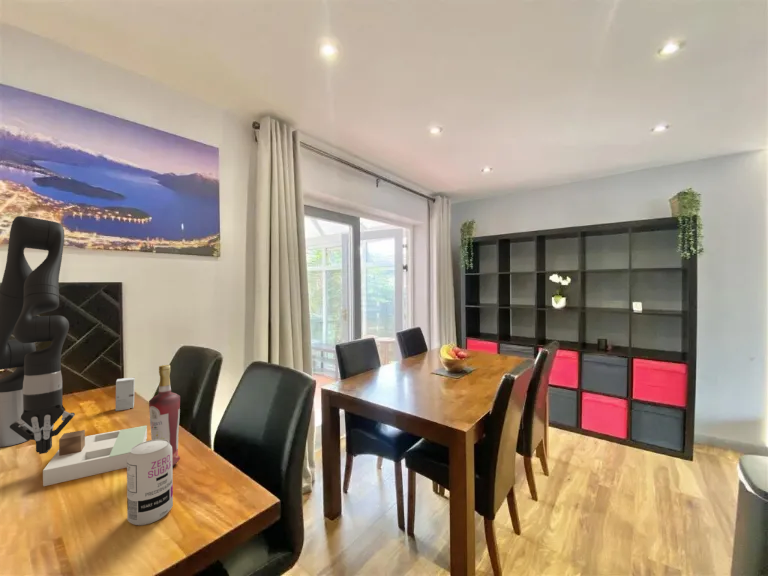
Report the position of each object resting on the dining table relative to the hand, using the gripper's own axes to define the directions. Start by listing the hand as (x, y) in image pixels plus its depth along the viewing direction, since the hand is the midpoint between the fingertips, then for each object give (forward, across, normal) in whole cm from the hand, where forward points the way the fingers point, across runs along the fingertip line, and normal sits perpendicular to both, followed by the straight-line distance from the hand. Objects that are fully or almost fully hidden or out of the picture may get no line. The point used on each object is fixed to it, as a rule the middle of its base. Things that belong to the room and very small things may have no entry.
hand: (43, 452), depth 91 cm
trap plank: (+5, -12, 0) cm, 13 cm away
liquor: (+5, -28, +15) cm, 32 cm away
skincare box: (+5, -12, -48) cm, 50 cm away
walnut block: (+1, -6, 0) cm, 6 cm away
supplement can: (+5, -27, +37) cm, 46 cm away
